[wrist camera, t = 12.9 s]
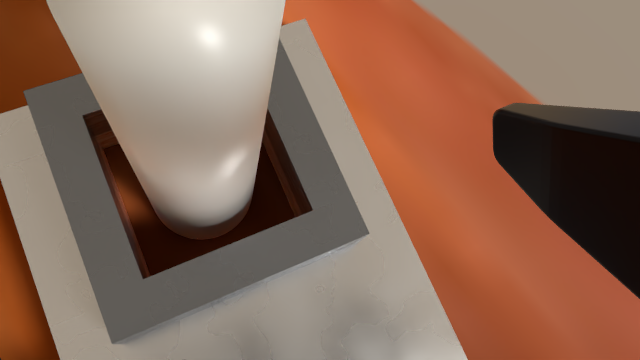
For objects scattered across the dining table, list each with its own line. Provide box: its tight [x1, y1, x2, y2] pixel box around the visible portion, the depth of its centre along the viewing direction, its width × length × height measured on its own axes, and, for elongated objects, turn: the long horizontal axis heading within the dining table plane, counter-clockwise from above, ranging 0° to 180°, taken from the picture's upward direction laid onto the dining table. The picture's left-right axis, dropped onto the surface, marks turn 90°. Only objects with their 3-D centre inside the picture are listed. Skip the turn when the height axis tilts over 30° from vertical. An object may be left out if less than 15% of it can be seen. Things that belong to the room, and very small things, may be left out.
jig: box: [0, 19, 468, 360], centre depth 20 cm, size 19×13×4 cm
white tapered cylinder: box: [46, 0, 286, 240], centre depth 16 cm, size 4×4×14 cm
